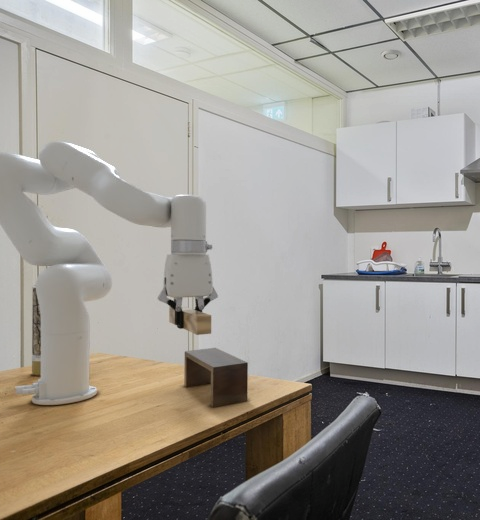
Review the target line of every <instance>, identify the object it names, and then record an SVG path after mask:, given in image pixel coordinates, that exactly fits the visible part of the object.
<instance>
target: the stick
mask: <svg viewBox="0 0 480 520" xmlns="http://www.w3.org/2000/svg"><path fill="white" fill-rule="evenodd" d="M182 311H183V313H184V322H183V329H182V330H185V331H187V332H189V333H192V334H194V335H196V336H201V335H202V336H203V335H211V334H212V314H209V313H205V312H203V311H202V312H200V311H196V310H194V309H193V308H190V307H187V306H184V305H182ZM168 314H169V315H168V322H169V323H170V324H172V325H174V326H176V325H175V310H173V309H172V308H171V307H170V306H169V307H168Z"/></svg>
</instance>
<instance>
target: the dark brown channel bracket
mask: <svg viewBox="0 0 480 520" xmlns="http://www.w3.org/2000/svg"><path fill="white" fill-rule="evenodd" d="M183 368H184V371H183V373H184V375H183V377H184V379H183V381H184V383H183V384H184V386H185V388H188V387H189V388H190V387H195V386H200V385H206V384H207V385H208V384H210V406H211V407H212V408H217V407H221V406H228V405H232V404H238V403H242V402H247V401H248V382H249V381H248V377H249V375H248V374H249V373H248V371H249V362H248V361H245V360H243V359H241V358H239V357H236V356H235V355H232V354H230V353H228V352H226V351H224V350H221V349H219V348H217V347H210V348H202V349H200V348H199V349H193V350H184V367H183Z"/></svg>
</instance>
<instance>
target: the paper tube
mask: <svg viewBox="0 0 480 520" xmlns="http://www.w3.org/2000/svg"><path fill="white" fill-rule="evenodd" d="M31 305H32V311H31V312H32V315H31V317H32V318H31V319H32V320H31V321H32V323H31V374H32V375H34V376H37V377H41V317H40V307H39V302H38V298H37V293H36V284H33V285H32V304H31Z"/></svg>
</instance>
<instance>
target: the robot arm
mask: <svg viewBox="0 0 480 520" xmlns="http://www.w3.org/2000/svg"><path fill="white" fill-rule="evenodd" d="M74 189H77V190H79V191H81V192H83V193H85V194H87V195H88V196H89V197H92V198H93V199H94V201H95V202H97V203H98V205H100V206H101V207H103V208H104V209H105V210H107V211H109V212H111V213H113V214H115V215H116V216H118V217H120V218H122V219H124V220H126V221H128V222H130V223H133V224H135V225H138V226H145V227H153V228H162V229H163V228H170V254H166V257H165V263H164V271H163V285H162V289H161V291H160V293H159V294H158V296H157V300H158V301H159V302H162V303H164V304H166V305H168V306H169V307H171V308H172V309H173V310H175V325H174V326H176V327H177V328H178V329H179V330H184V329H183V322H184V313H183V311H182V306H183V298H194V302H195V303H194V304H195V306H194V309H193V310H196V311H200V312H203V310H205V307H207V306H208V304H209V303H210V302H213V301H214V300H216V299H218V297H219V295H218V292H217V291H216V289H215V287H214V285H213V284H214V283H213V271H212V264H211V259H210V255H209V254H207V252H208V251H209V250H210V251H212V250H213V244H212V243H208V241H207V201H206V199H205V198H204V197H203V196H200V195H195V194H177V195H174V196H173V197H169V196H165V195H161V194H158V193H154V192H149V191H145V190H143V189H141V188H139V187H137V186H136V185H133V184H131V183H130V182H128V181H126V180H124V179H122V178H121V177H120V173H119V170H118V169H117V168H116V167H115V166H113V165H111V164H109V163H108V162H106V161H104V160H102V159H101V158H100V156H99V155H98V154H97V153H95V152H94V151H92V150H90V149H87V148H85V147H81V146H80V145H79V146H78V145H77V144H74V143H69V142H67V141H59V140H56V141H50V142H47V143H45V144H44V145H43V146H42V147H41V148H40V149H39V152H38V159H37V158H33V157H29V156H26V155H22V154H19V153H12V152H7V151H6V152H4V151H0V226H1V228H2V229H3V231H4V233H5V234H6V236H7V237H8V239H9V240H10V241H11V244H12V245H13V246H14V247H15V249H16V251H17V252H18V254H19V255H20V257H22V259H23V260H24V261H25V262H26V263H27V264H30V265H32V266H37V267H46V268H45V269H43V270H42V271H41V272H40V273H39V275H38V276H37V278H36V281H35V285H36V293H37V298H38V302H39V307H40V317H41V376H40V378H38V379H37V382H32V384H28V385H18V386H14V387H15V389H14V390H15V392H14V393H15V394H14V395H15V396H18V395H19V396H20V395H21V396H22V397H24V396H28V395H29V396H30V395H32V396H31V402H32V404H34V405H39V406H57V405H58V406H59V405H67V404H73V403H77V402H82V401H86V400H88V399H91V398H93V397H95V396H97V394H98V388H97V387H96V386H93V385H90V367H91V366H90V365H91V364H90V363H91V362H90V358H91V357H90V356H91V355H90V353H91V352H90V350H91V349H90V348H91V345H90V344H91V341H90V340H91V323H90V320H91V319H90V315H89V312H88V309H87V307H86V304H85V302H92V301H97V300H101V299H103V298H104V297H106V296H107V295H108V294H109V293H110V291H111V289H112V287H113V279H112V274H111V273H110V270H109V269H108V267H107V266H106V265H105V263H104V261H103V260H102V259H101V257H100V255H99V254H98V252H97V251H96V249H95V248H94V246H93V245H92V244H91V242H90V241H89V240H88V239H87V237H86V236H85V235H83V234H82V233H81V232H80V231H78V230H75V229H72V228H66V227H58V226H55V225H53V224H52V223H51V222H50V220H49V219H48V218H47V217H46V216H45V214H44V212H43V211H42V209H41V208H40V207H39V206H38V205H37V203H36V202H34V201H33V200H32V199H31V198H30V197H28V196H27V195H26V194H25V193H29V194H33V195H34V194H35V195H43V196H49V195H55V194H58V193H63V192H66V191H69V190H74ZM168 297H170V298H168ZM171 298H173V300H172V299H171Z"/></svg>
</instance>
